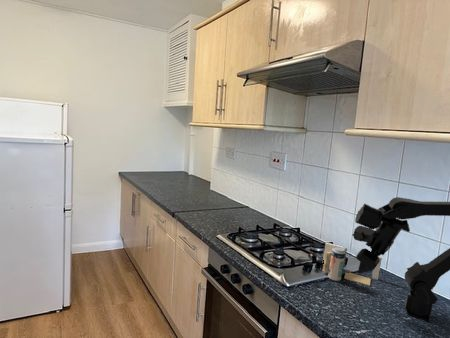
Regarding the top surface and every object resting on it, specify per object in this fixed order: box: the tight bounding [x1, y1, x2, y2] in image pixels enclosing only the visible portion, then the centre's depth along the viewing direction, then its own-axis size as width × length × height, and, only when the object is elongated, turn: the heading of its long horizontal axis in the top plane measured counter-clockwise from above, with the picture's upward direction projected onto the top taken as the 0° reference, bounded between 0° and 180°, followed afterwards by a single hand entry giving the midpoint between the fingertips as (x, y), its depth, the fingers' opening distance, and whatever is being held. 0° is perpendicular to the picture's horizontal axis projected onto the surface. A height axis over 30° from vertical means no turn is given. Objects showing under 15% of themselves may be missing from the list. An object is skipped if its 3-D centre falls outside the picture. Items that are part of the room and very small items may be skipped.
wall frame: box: [322, 242, 383, 281], centre depth 126 cm, size 21×2×9 cm, turn 63°
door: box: [322, 252, 332, 273], centre depth 123 cm, size 10×2×8 cm, turn 119°
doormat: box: [344, 272, 372, 287], centre depth 120 cm, size 9×6×1 cm, turn 63°
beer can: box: [327, 247, 347, 282], centre depth 118 cm, size 5×5×12 cm
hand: (364, 265), depth 110 cm, fingers open, 9 cm apart
